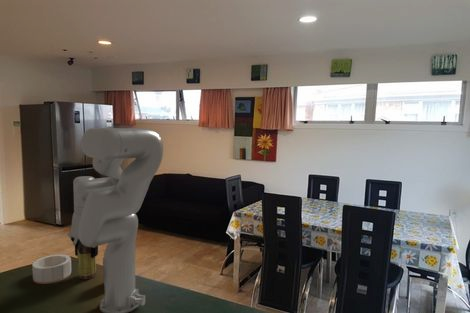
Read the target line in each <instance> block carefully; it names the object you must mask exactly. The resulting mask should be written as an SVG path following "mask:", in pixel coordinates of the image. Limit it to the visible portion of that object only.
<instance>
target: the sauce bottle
mask: <svg viewBox="0 0 470 313" xmlns="http://www.w3.org/2000/svg"><path fill="white" fill-rule="evenodd" d="M91 248H92V247H87V246H84V245H83V244H82V243H81V241H80V240H79V244H78V247H77V256H76V257H77V273H78V277H79V279H81V280H90V279H93V278H94V277H96V275H97V273H96V272H97V260H96V257H97V256H95V257H94V258H91Z"/></svg>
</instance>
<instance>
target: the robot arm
mask: <svg viewBox="0 0 470 313" xmlns="http://www.w3.org/2000/svg"><path fill="white" fill-rule="evenodd" d="M81 137H82V138H81V139H80V142H81V143H80V146H81V150H82V153H83V154H84V155H85V156H87V157H89V158H92V161H91V162H92V167H93V169H94V171H96V172H97V173H98V174H100V175H103V176H105V177H100V178H99V177H97V178H95V177H93V176H89V175H88V176H87V175H86V176H85V175H84V176H83V175H81V176H77V177H75V178H74V179H73V188H72V189H73V214H72V219H71V230H70V231H69V232H68V233H67V236H68V237H69V239H70V241H71V242H72V245H73V246H74V253H75V254H74V256H76V257H77V247H78V244H79V240H80V241H81V243H82V244H83V245H84V246H87V247H92V248H91V258H94V257H97V256H98V255H99V246H103V245H106V247H105V250H104V253H103V258H104V280H103V286H104V297H103V298H102V299H101V301H99V310H100V311H101V312H102V313H129V312H133V311H134V310H135V309H137V308H138V307H139V306H145V304H146V294H140V292H139V288H136V241H137V235H138V234H137V233H138V230H139V229H138V228H139V218H138V215H137V213H138V212H139V210H140V209H141V207H142V204H143V202H144V199H145V197H146V195H147V192H148V190H149V188H150V184H151V182H152V180H153V178H154V176H156V173H157V172H158V170H159V168H160V166H161V163H162V160H163V156H164V155H163V154H164V144H163V143H164V142H163V140H162V137H161V135H160V134H159V133H158V132H156V131H154V130H152V129H149V128H143V127H142V128H141V127H140V128H139V127H137V128H135V127H132V128H130V127H128V128H125V127H124V128H123V127H121V128H120V127H119V128H118V127H91V128H88V129H86V130H85V131H84V133H83V135H82V136H81ZM126 159H127V160H128V159H134V160H132V161H131V162H130V163H129V164H128V165H127V166H126V167H125V168H124V169H122V167H121V166H122V163H123V161H124V160H126Z"/></svg>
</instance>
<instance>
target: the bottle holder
mask: <svg viewBox="0 0 470 313" xmlns="http://www.w3.org/2000/svg"><path fill="white" fill-rule="evenodd" d="M31 264H32V280H33V282H34V283H35V284H38V285H39V284H40V285H49V284H55V283H59V282H61V281H64V280H65V279H68V278H70V276H71V275H72V258H71V256H70V255H68V254H62V253H61V254H60V253H59V254H50V255H47V256H43V257H40V258H37V259H36V260H34V261H33V263H31Z"/></svg>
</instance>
